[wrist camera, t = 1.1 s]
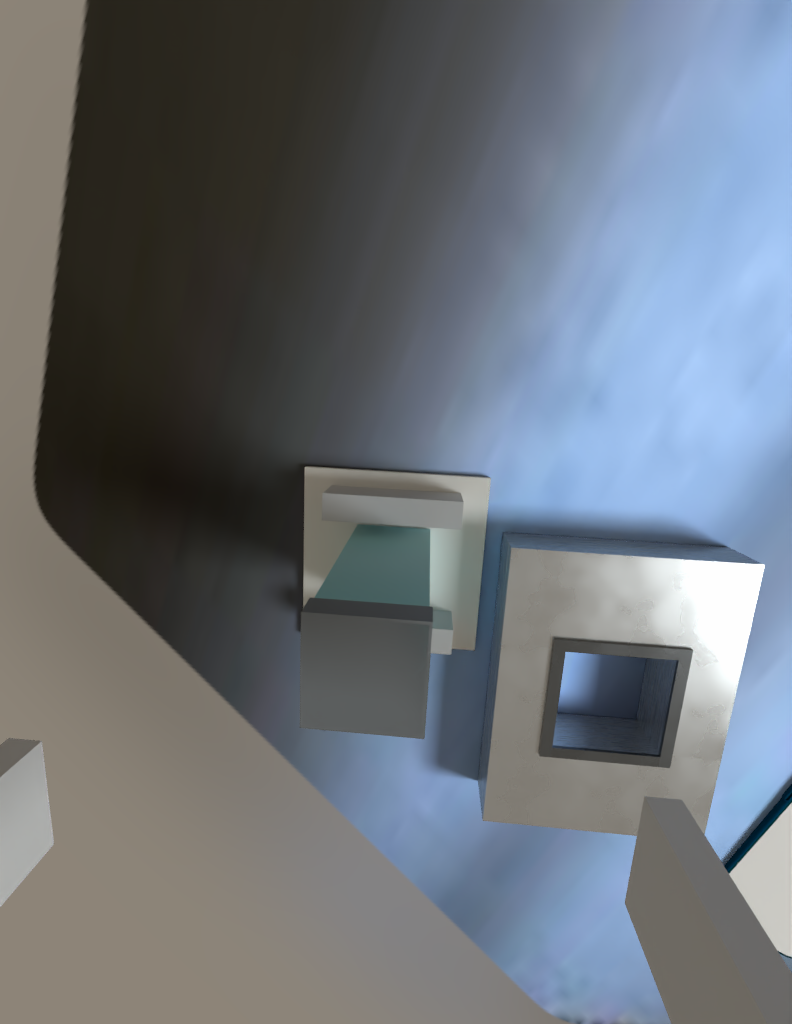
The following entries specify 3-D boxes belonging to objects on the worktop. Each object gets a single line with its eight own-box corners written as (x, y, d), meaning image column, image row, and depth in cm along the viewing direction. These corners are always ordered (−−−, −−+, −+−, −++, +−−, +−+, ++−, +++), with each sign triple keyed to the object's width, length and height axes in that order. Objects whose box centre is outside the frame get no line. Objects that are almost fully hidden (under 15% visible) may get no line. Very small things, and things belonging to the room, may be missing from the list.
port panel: (503, 532, 28) (512, 549, 25) (728, 547, 27) (767, 566, 24) (477, 781, 31) (483, 823, 28) (676, 800, 31) (704, 845, 27)
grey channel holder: (306, 466, 28) (292, 473, 25) (489, 477, 27) (496, 485, 24) (304, 633, 30) (291, 657, 27) (474, 647, 29) (478, 672, 27)
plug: (356, 522, 28) (300, 611, 16) (432, 527, 28) (432, 621, 16) (353, 594, 29) (299, 727, 17) (427, 599, 28) (424, 739, 17)
